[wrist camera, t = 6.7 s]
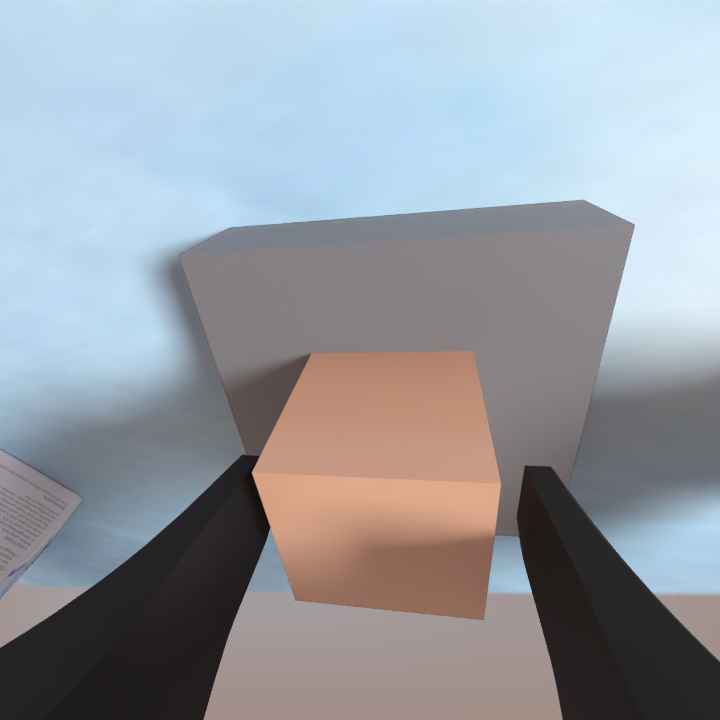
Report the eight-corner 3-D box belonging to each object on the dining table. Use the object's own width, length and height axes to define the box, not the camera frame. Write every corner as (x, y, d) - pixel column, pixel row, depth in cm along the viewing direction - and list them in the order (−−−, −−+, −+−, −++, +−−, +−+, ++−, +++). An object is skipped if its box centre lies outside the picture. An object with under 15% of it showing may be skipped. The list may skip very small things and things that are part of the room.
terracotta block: (473, 350, 11) (501, 483, 7) (466, 470, 14) (483, 620, 10) (311, 353, 12) (252, 472, 8) (332, 465, 15) (295, 600, 11)
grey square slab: (578, 197, 12) (634, 225, 9) (532, 463, 19) (555, 539, 15) (235, 224, 15) (178, 255, 11) (295, 455, 21) (269, 519, 17)
